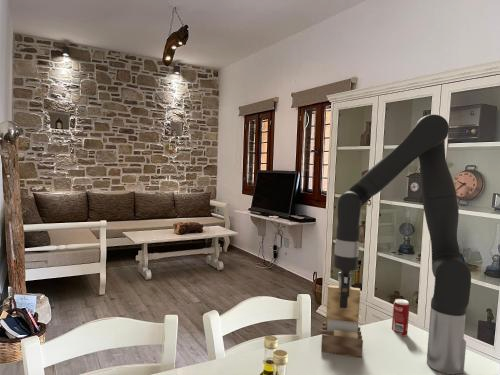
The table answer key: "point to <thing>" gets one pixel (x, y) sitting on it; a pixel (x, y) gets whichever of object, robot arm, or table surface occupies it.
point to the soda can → (400, 316)
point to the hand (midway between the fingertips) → (342, 303)
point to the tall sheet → (343, 313)
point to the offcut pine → (345, 334)
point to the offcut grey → (341, 325)
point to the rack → (341, 344)
